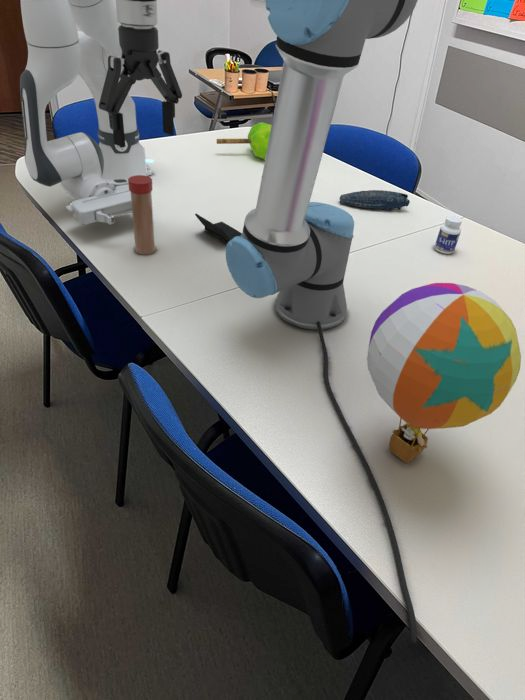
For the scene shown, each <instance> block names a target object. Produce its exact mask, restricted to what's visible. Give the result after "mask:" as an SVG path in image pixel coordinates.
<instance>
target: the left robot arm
mask: <svg viewBox="0 0 525 700" xmlns="http://www.w3.org/2000/svg"><path fill="white" fill-rule="evenodd" d="M20 12H21V19H22V27H23V32H24V37H25V40H26V46H27V62H26V66H25V69H24V71H23V72H21V73H20V77H19V92H20V93H19V94H20V106H21V107H20V108H21V114H22V115H21V116H22V125H23V134H24V162H25V167H26V170H27V172H28V175H29V177H30V178H31V179H32V180H33V181H34V182H36V183H38V184H40V185H42V186H46V187H49V188H51V187H53V186H55V185H57V184H60V185H61V187H62V188H63V190H64V191H65V192H66V194H67V195H68V196H69V197H71V198H72V199H73V201H71V202H70V203H68V205H66V206H65V210H66V211H67V212H69V213H71V214H72V215H73V217H74V219H76V221H77V222H78V223H79V224H81V225H90V224H93V223H97V222H99V223H106V224H107V225H112V224H115V223H116V219H115V218H117V217H120V216H124V215H127V214H132V204H131V192H130V191H129V184H128V179H129V178H130V177H132V176H136V175H143V176H148V177H150V176H151V175H153V174H154V173H153V169H151V168H150V167H149V166H148V164H147V163H154V160H153V159H147V158H146V157H147V156H146V149H145V147H144V146H143V145H142V144H141V143H140V133H139V128H138V125H137V124H138V123H137V112H136V103H135V101H134V99H133V98H132V97H131V95H129V94H128V95H127V97H126V99H125V101H124V103H123V105H122V107H121V109H120V111H119V113H122V114H123V124H124V136H125V147H120V146H118V145H115V144H114V136H113V130H112V129H111V128H110V123H109V114H108V112H106V111H104V110H101V109H99V102H100V98H101V94H102V90H103V86H104V83H105V79H106V75H107V71H108V57H109V56H114V57H120V58H121V56H122V49H121V47H120V44H119V33H118V27H119V26H120V25H121V23H119V22H118V21H117V10H116V1H115V0H20ZM78 29H79V30H78ZM122 66H123V65H122ZM156 68H158V65H157V66H156ZM123 69H124V67H123ZM123 69H121V73H122V71H123ZM78 75H79V76H80V78H81V79H82V80H83V81H84V83H85V84H86V86H87V87H88V89H89V91H90V93H91V95H92V98H93V101H94V105H95V109H96V115H97V123H98V128H97V136H98V137H97V138H98V142H99V143H98V142H97V141H96V140H95V139H94V138H92V136H90V135H89V134H87V133H85V132H84V131H80V132H76V133H72V134H69V135H65V136H62V137H58V138H55V139H51V140H48V137H47V124H46V123H47V122H46V109H47V106H48V104H49V102H50V101H51V100H52V99H53V98H54V97H55V96H56V95H57V94H58V93H60V92H61V91H62V90H64V89H65V88H67V87H68V86H70V85H72V83H73V82H74V81H75V80H76V79H77V77H78ZM120 75H121V74H120ZM128 76H129V75H128ZM129 77H130V76H129ZM143 80H144V81H145V79H143ZM143 80H142V81H143Z"/></svg>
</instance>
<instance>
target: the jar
mask: <svg viewBox="0 0 525 700" xmlns="http://www.w3.org/2000/svg"><path fill="white" fill-rule="evenodd" d="M130 192H131V191H130ZM131 204H132V213H131V214H132V215H131V216H132V225H133V237H134V248H135V252H136V253H137V254H138V255H142V256H143V255H145V256H148V255H151V254H154V252H155V251H156V245H155V230H154V229H155V228H154V227H155V226H154V213H153V210H154V209H153V196H152V191H151V192H149V193H145V194H136V193H132V192H131Z"/></svg>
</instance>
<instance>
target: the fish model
mask: <svg viewBox="0 0 525 700" xmlns="http://www.w3.org/2000/svg"><path fill="white" fill-rule="evenodd" d="M410 202H411V201H410V200H409V195H408V194H406V193H403V192H402V193H401V192H399V191H392V190H382V189H380V190H379V189H377V190H376V189H368V190H360V191H352V192H348V193H344V194H341V195H340V196H339V203H343V204H346V205H349V206H351V207H357V208H362V209H371V210H372V209H374V210H384V211H385V210H386V211H391V210H394V209H397V210H402V208H404V207H408V206H409V205H410Z"/></svg>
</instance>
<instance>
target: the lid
mask: <svg viewBox="0 0 525 700" xmlns="http://www.w3.org/2000/svg"><path fill="white" fill-rule="evenodd" d="M128 184H129V191H131V192H132V193H136V194H145V193H149V192H151V193H152V191H153V179H152V177H150V176H143V175H136V176H132V177H130V178H129V179H128Z"/></svg>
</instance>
